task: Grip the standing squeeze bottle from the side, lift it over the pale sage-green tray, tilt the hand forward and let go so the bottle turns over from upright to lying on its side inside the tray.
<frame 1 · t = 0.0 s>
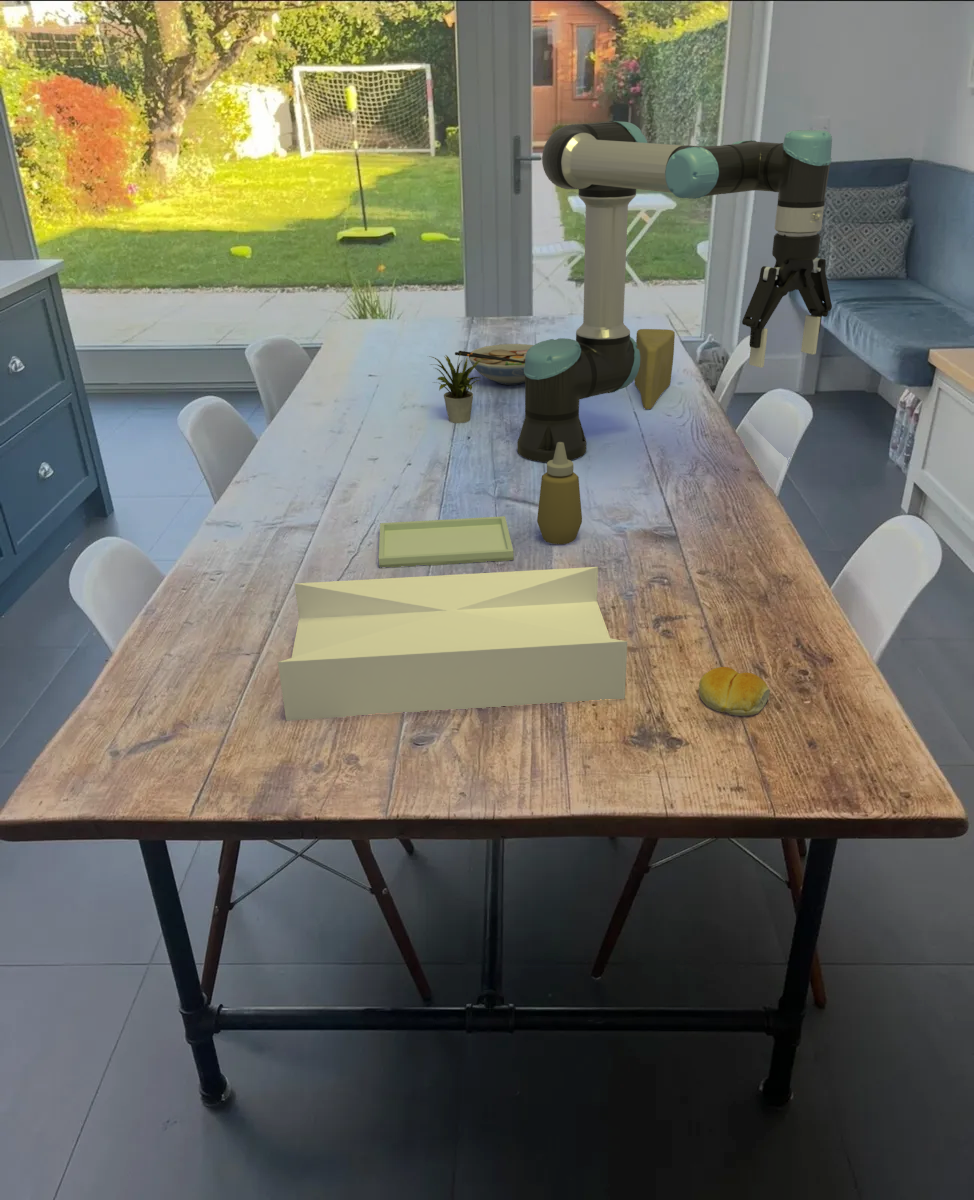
hand: (782, 359, 176), 28 cm above the table, tool pointing down, fingers open, 13 cm apart
bread roll: (733, 701, 133), on the table
tray: (444, 545, 177), on the table
ramen bowl: (511, 382, 268), on the table
squeeze bottle: (559, 539, 179), on the table
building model: (453, 669, 142), on the table
house plant: (453, 420, 240), on the table
cheese: (650, 398, 253), on the table
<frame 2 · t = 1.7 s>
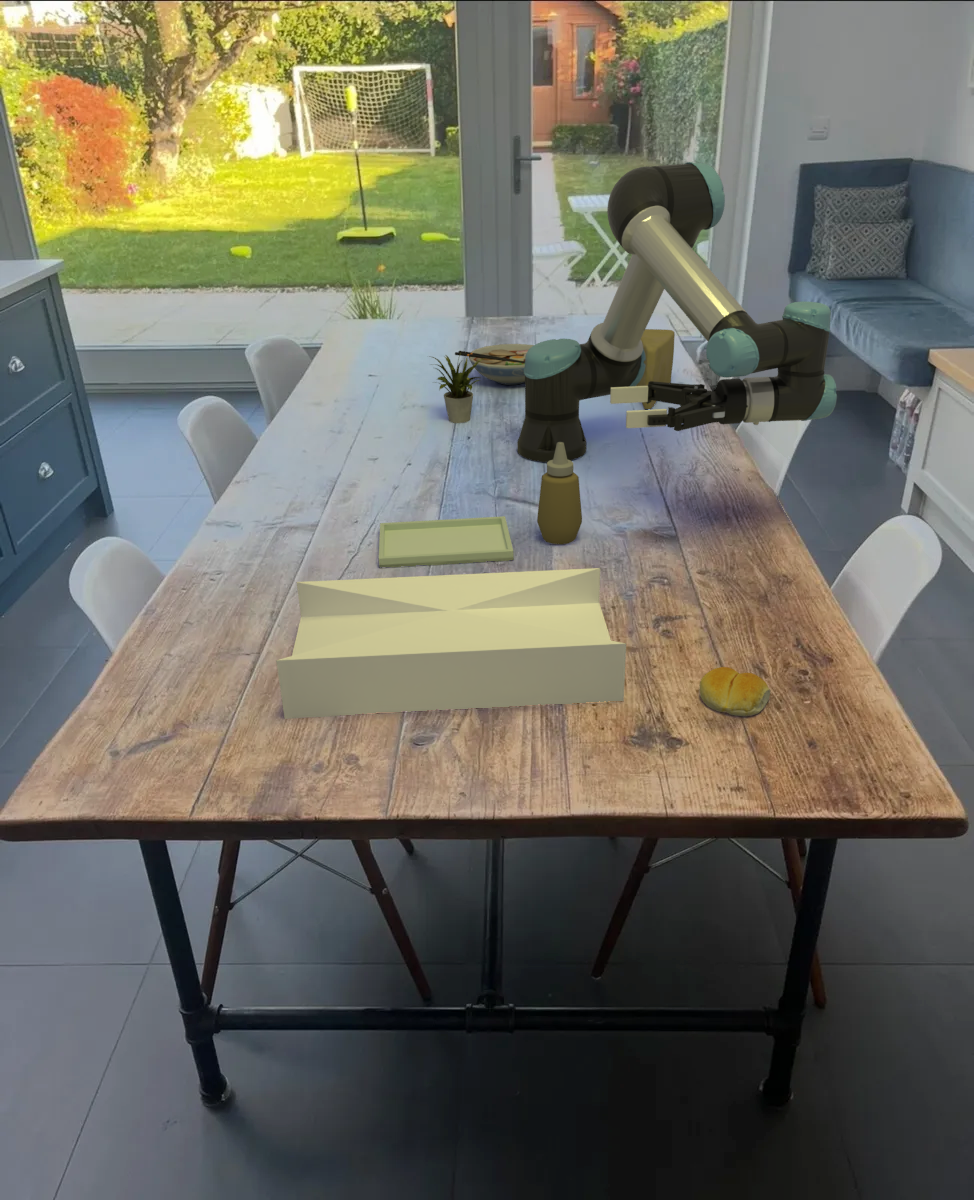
hand: (618, 407, 168), 24 cm above the table, tool horizontal, fingers open, 13 cm apart
nothing on the table moved.
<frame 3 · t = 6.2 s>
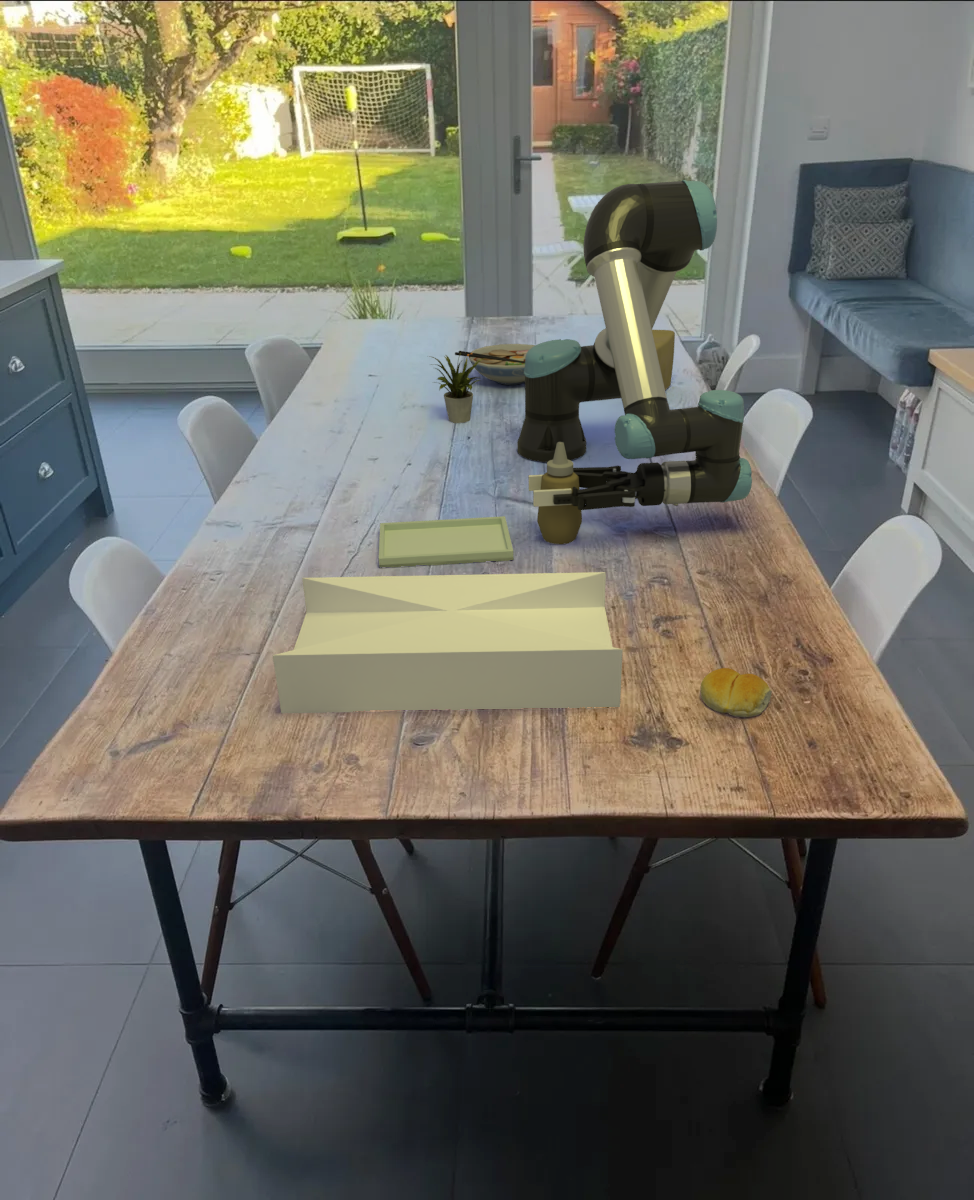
hand: (531, 490, 174), 10 cm above the table, tool horizontal, fingers closed on squeeze bottle, 6 cm apart
squeeze bottle: (559, 539, 179), on the table, touching gripper
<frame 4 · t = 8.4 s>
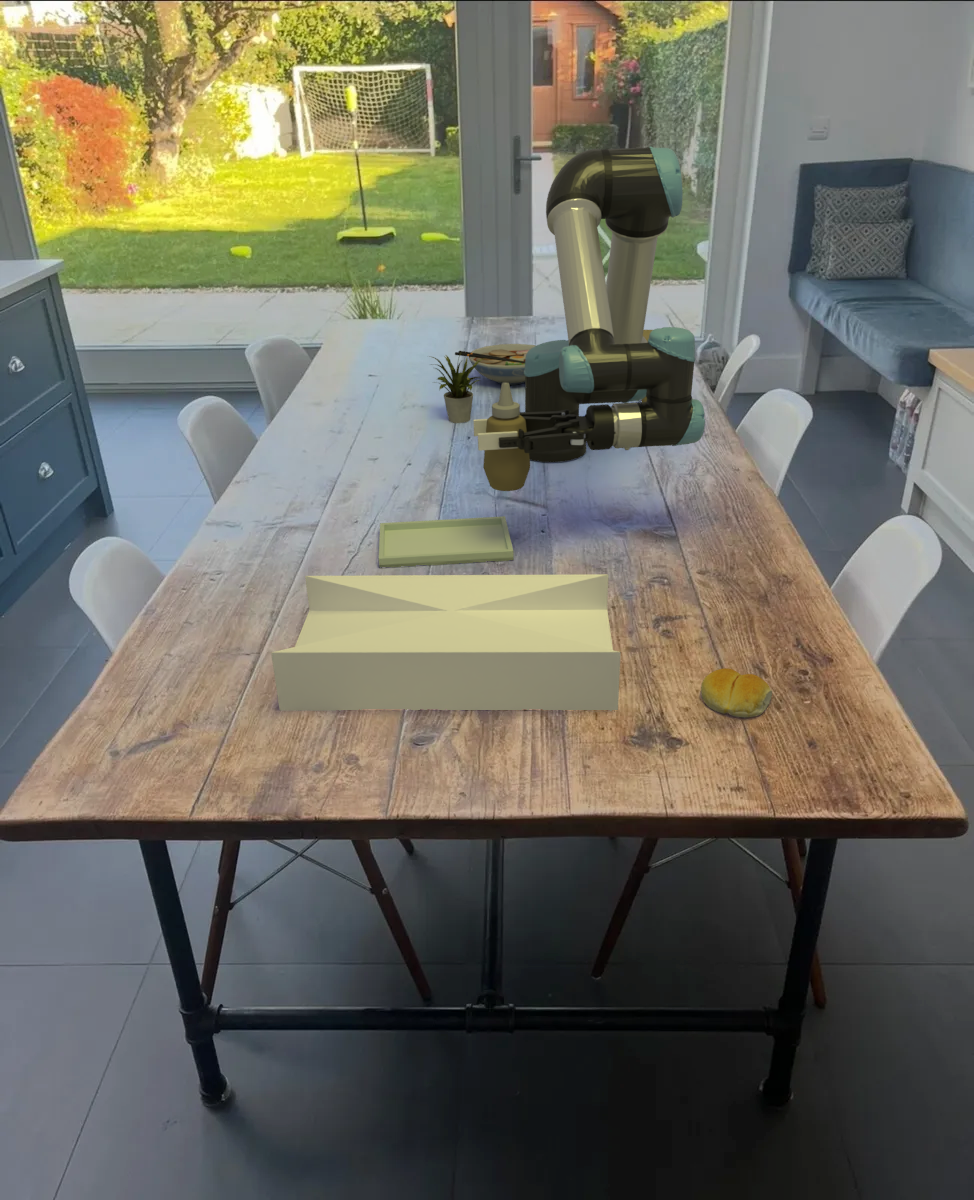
hand: (476, 434, 167), 21 cm above the table, tool horizontal, fingers closed on squeeze bottle, 6 cm apart
squeeze bottle: (507, 487, 172), point 11 cm above the table, touching gripper
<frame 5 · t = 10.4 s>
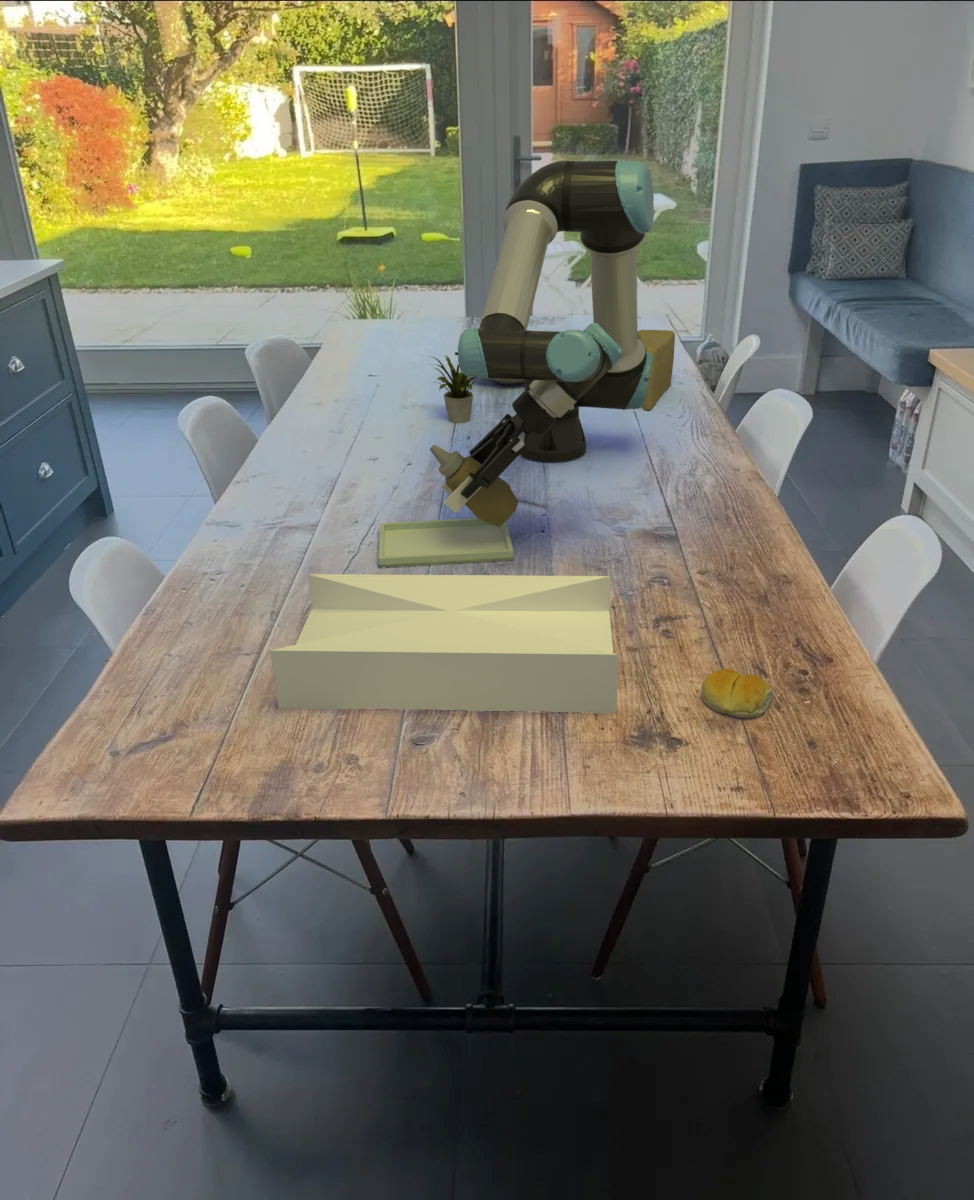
hand: (448, 499, 173), 9 cm above the table, tool tilted 45°, fingers closed on squeeze bottle, 6 cm apart
squeeze bottle: (507, 514, 175), point 6 cm above the table, touching gripper
when the fingers open (9 cm above the table, at t = 10.8 s): squeeze bottle moves 5 cm, resting on tray.
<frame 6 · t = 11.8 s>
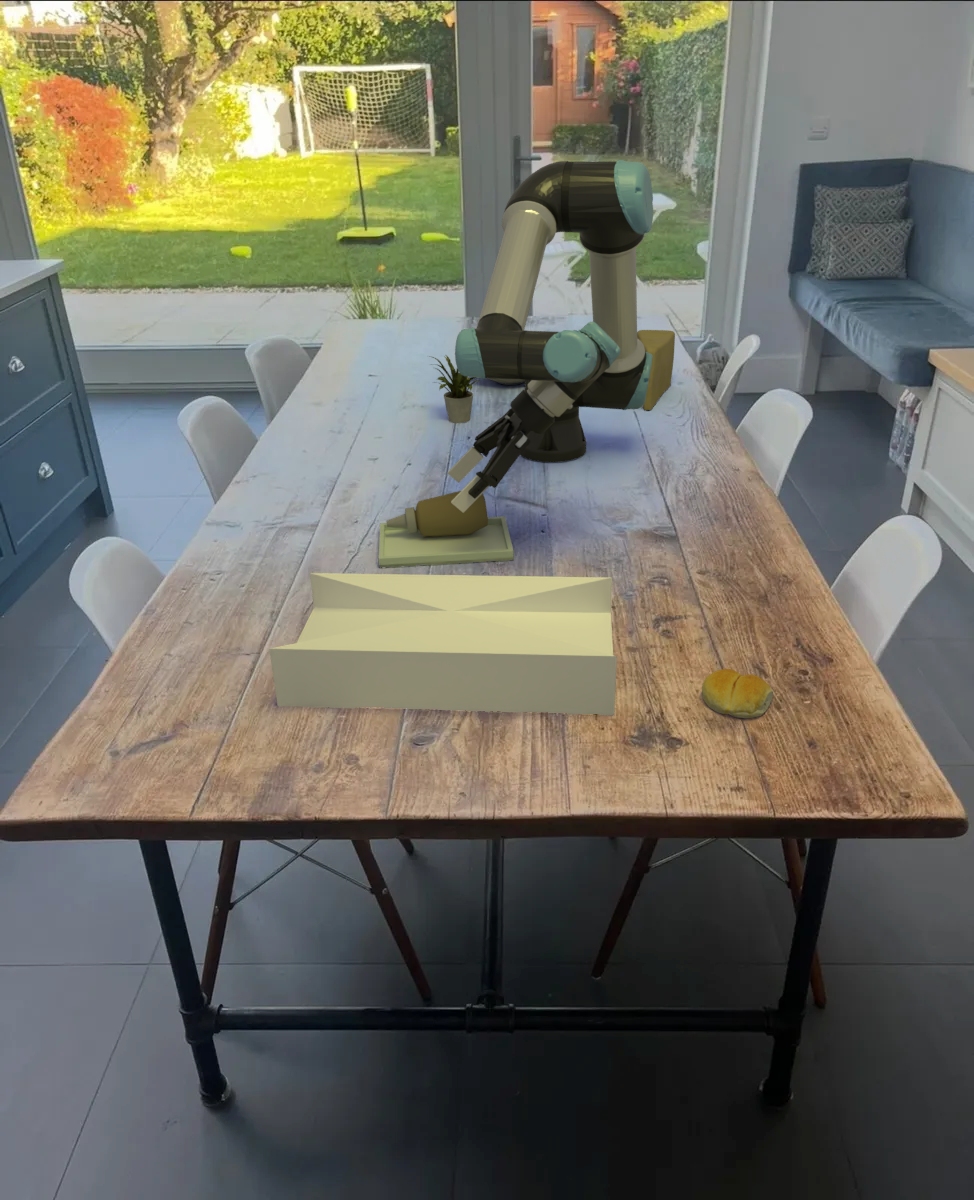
hand: (454, 492, 173), 10 cm above the table, tool tilted 45°, fingers open, 13 cm apart
squeeze bottle: (487, 509, 179), point 5 cm above the table, touching tray
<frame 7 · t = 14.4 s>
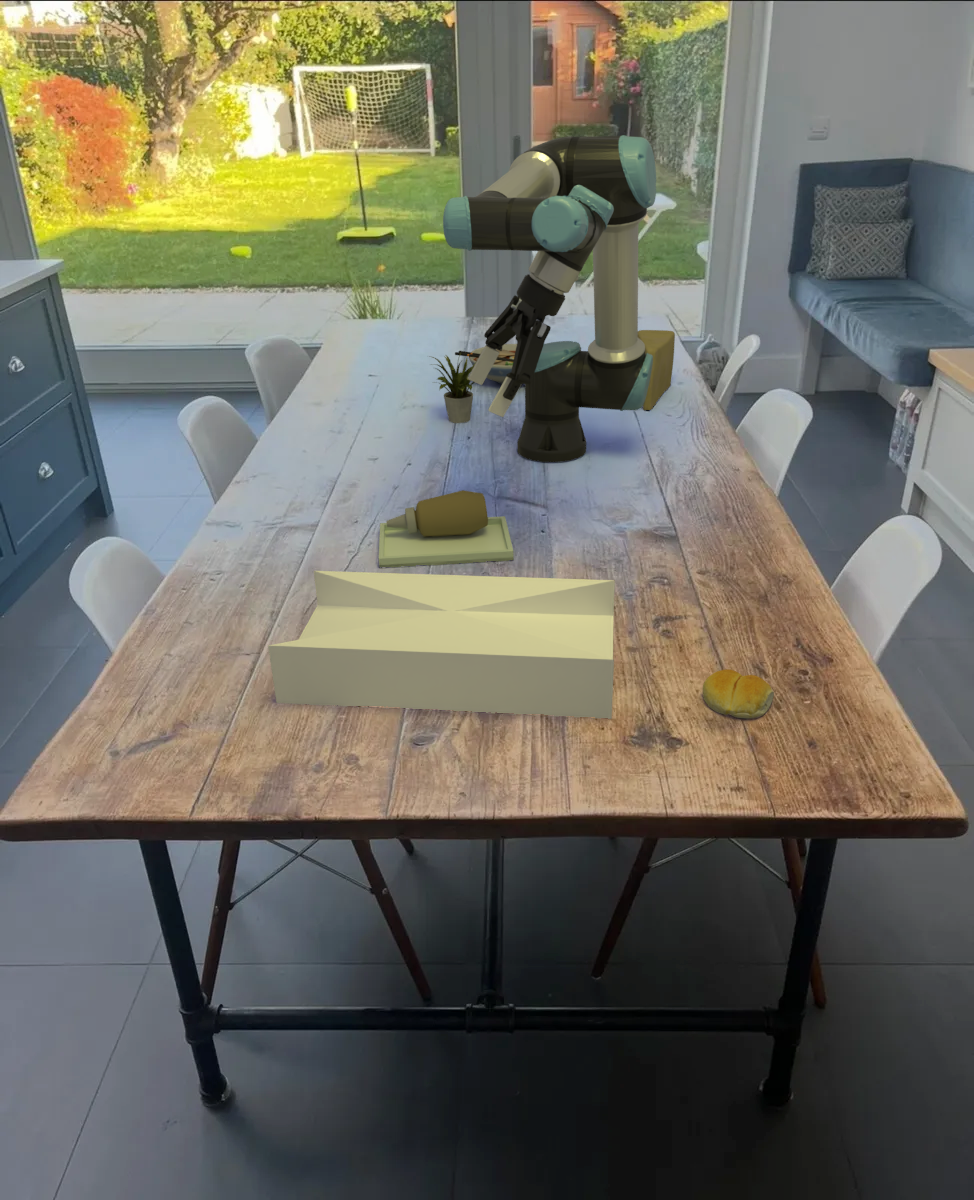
hand: (484, 397, 170), 25 cm above the table, tool tilted 30°, fingers open, 13 cm apart
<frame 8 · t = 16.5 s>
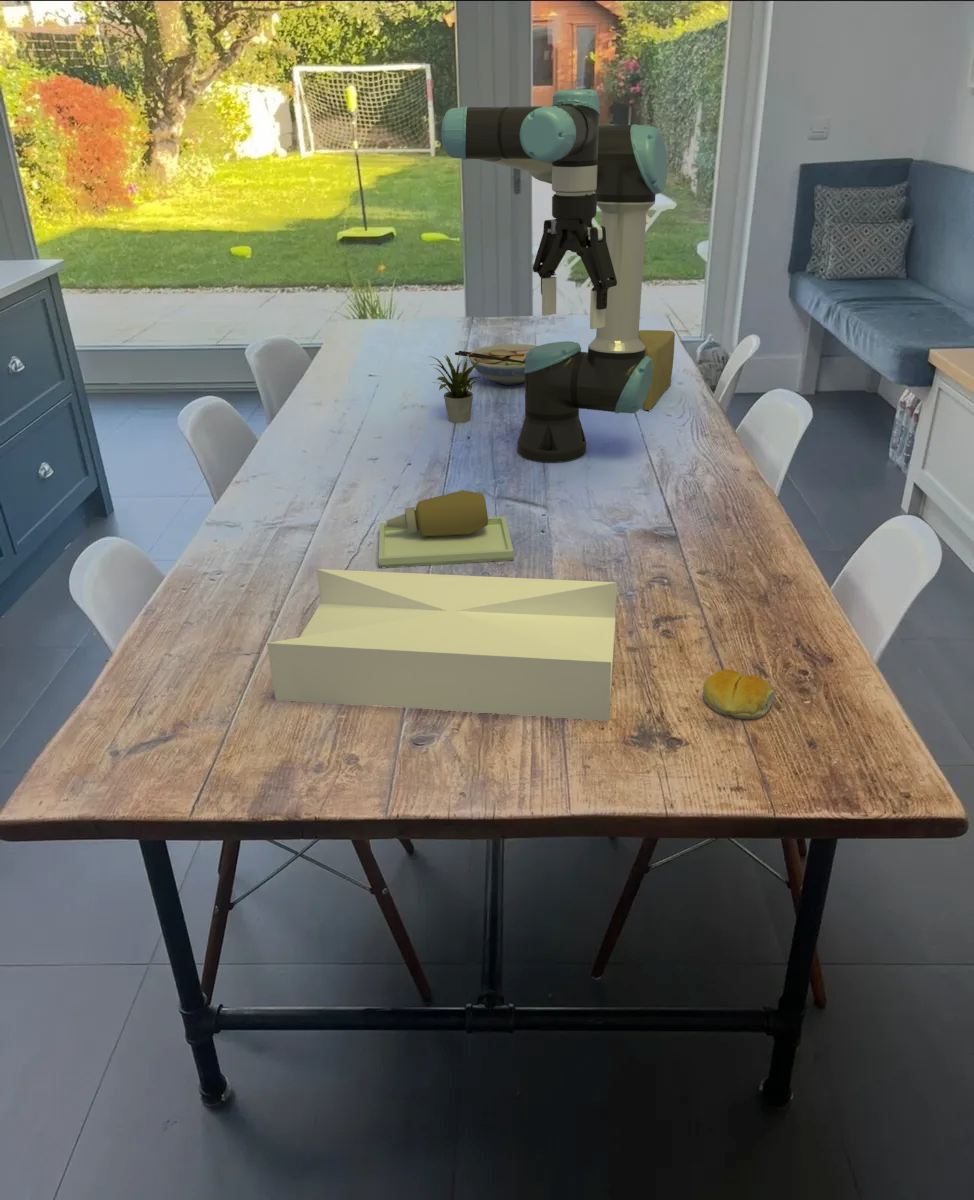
hand: (572, 321, 177), 35 cm above the table, tool pointing down, fingers open, 13 cm apart
at the end: squeeze bottle tilted 95°; squeeze bottle inside the target area (8.9 cm from its centre), point 4.9 cm above the table; the gripper is holding nothing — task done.
